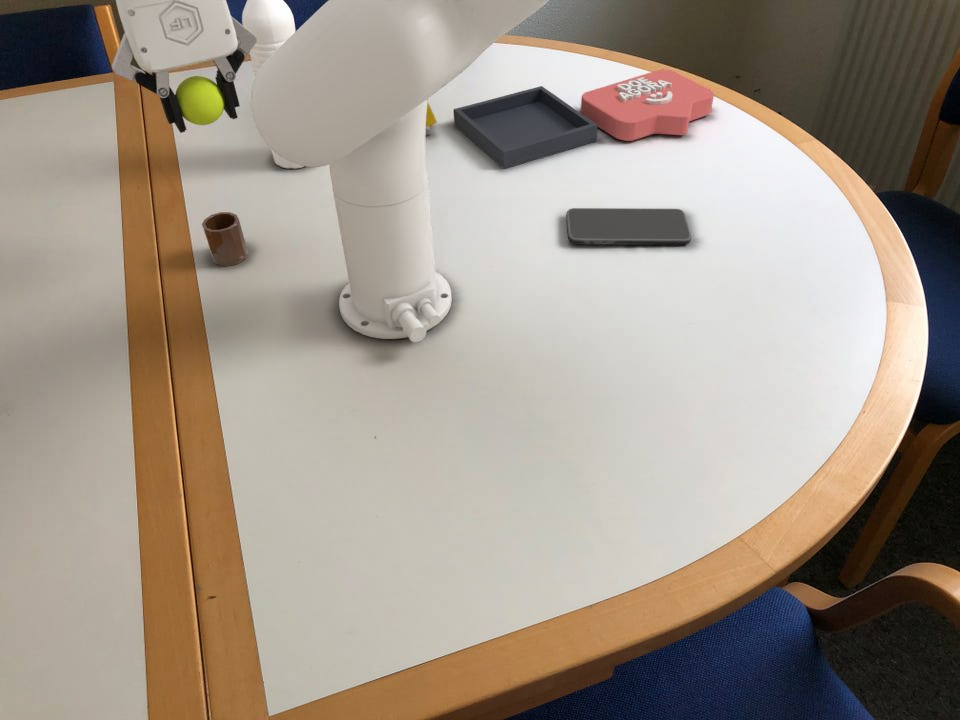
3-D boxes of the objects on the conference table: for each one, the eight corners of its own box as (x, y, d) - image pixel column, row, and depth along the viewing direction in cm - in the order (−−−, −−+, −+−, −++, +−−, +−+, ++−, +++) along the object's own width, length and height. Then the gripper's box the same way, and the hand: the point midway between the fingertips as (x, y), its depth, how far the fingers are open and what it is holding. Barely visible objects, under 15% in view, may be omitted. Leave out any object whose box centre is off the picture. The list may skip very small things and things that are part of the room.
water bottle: (323, 147, 117) (291, -33, 100) (313, 170, 113) (277, -16, 96) (266, 147, 118) (224, -33, 101) (253, 169, 113) (207, -16, 96)
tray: (596, 141, 116) (597, 124, 114) (503, 169, 111) (503, 152, 109) (541, 101, 126) (541, 85, 125) (454, 125, 121) (453, 109, 120)
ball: (235, 125, 86) (223, 80, 82) (189, 137, 84) (174, 92, 81) (223, 108, 89) (210, 64, 86) (178, 120, 87) (164, 75, 84)
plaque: (639, 129, 110) (575, 91, 120) (636, 154, 113) (574, 115, 123) (734, 96, 117) (666, 63, 126) (729, 121, 119) (663, 86, 129)
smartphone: (693, 240, 95) (568, 239, 96) (692, 247, 96) (568, 246, 97) (683, 207, 101) (565, 207, 101) (682, 213, 101) (565, 213, 102)
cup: (252, 259, 97) (242, 225, 94) (217, 270, 96) (207, 235, 92) (242, 242, 100) (233, 208, 96) (209, 252, 98) (198, 218, 95)
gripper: (61, -36, 69) (133, 155, 81) (251, -70, 74) (291, 114, 87) (51, -55, 74) (119, 128, 86) (230, -86, 79) (270, 90, 92)
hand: (205, 119), depth 86 cm, fingers closed on ball, 4 cm apart
